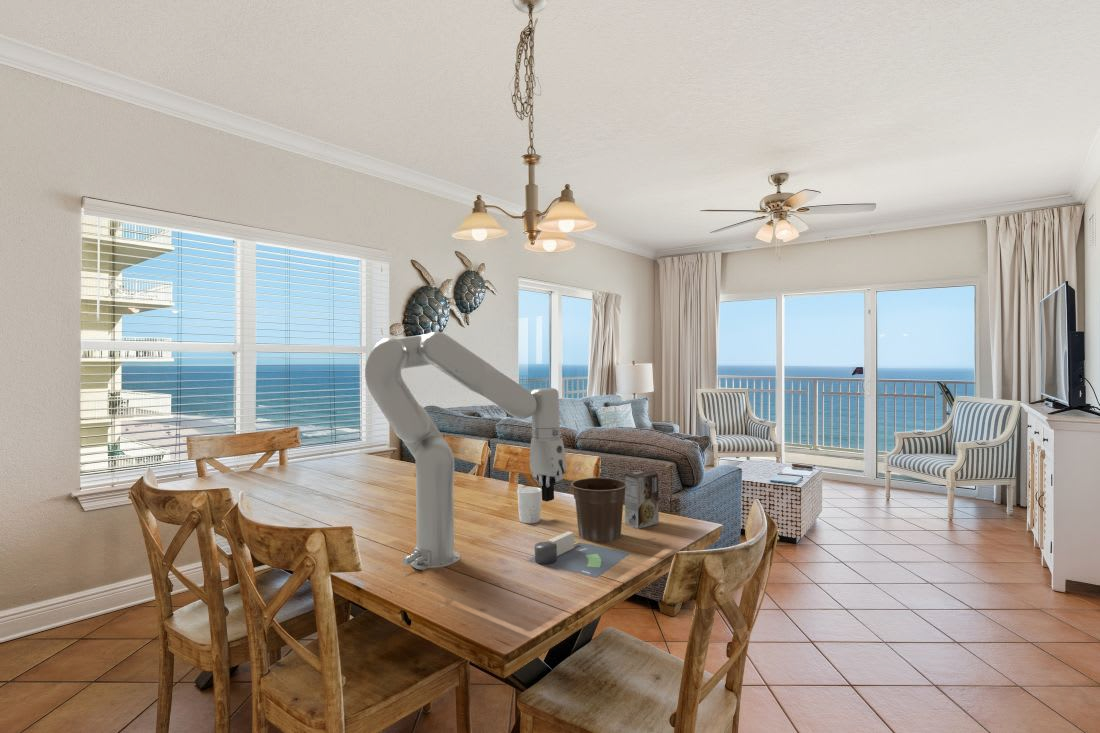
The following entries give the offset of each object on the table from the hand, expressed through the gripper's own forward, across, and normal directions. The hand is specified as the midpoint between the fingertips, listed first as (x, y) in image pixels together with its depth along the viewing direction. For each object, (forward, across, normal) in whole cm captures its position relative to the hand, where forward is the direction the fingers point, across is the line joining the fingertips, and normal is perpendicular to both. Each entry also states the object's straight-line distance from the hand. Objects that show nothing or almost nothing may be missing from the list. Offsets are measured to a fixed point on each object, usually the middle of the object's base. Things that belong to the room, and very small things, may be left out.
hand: (548, 499), depth 149 cm
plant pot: (+14, -4, -17) cm, 23 cm away
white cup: (+14, +23, -15) cm, 31 cm away
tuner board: (+14, -11, 0) cm, 18 cm away
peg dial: (+13, -6, +2) cm, 14 cm away
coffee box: (+15, -6, -36) cm, 40 cm away
